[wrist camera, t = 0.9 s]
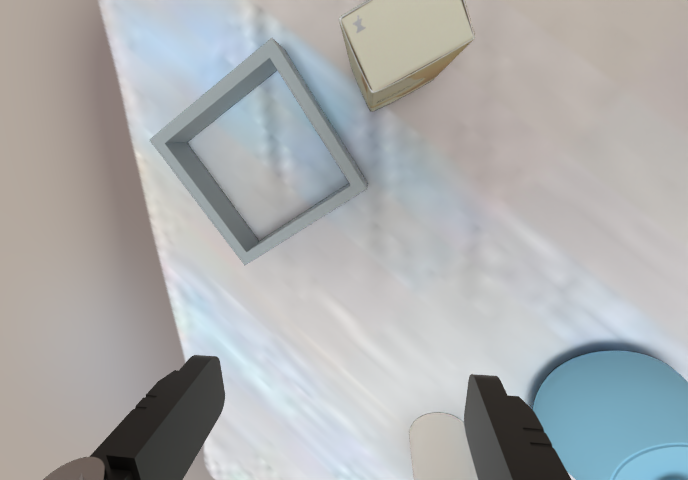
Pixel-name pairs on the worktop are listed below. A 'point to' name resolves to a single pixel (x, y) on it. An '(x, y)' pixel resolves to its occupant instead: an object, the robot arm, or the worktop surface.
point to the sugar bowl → (616, 417)
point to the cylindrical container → (440, 449)
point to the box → (214, 105)
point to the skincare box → (402, 44)
